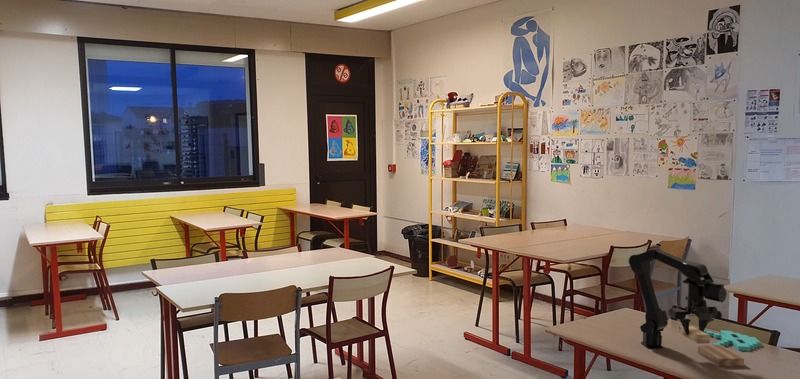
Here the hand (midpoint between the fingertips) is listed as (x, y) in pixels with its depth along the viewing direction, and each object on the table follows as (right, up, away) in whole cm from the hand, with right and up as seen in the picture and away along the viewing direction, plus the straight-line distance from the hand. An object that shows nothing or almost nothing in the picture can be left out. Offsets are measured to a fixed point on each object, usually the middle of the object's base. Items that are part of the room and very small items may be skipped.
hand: (693, 334), depth 218 cm
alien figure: (+27, -9, +20) cm, 35 cm away
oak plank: (0, -1, 0) cm, 1 cm away
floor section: (+11, -10, +1) cm, 15 cm away
